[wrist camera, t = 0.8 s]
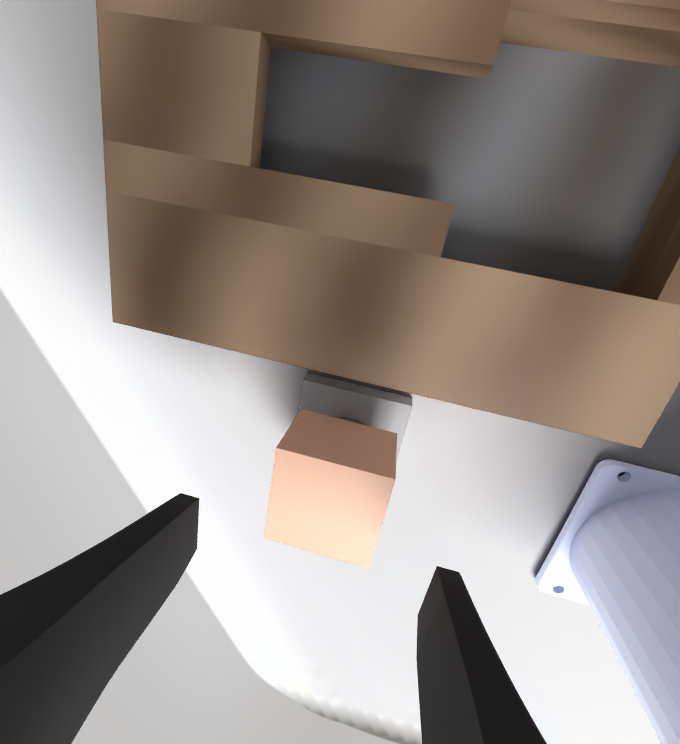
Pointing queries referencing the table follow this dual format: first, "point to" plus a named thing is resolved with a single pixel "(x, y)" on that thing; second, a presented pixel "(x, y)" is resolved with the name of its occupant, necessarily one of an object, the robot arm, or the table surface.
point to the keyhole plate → (407, 194)
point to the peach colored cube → (336, 469)
